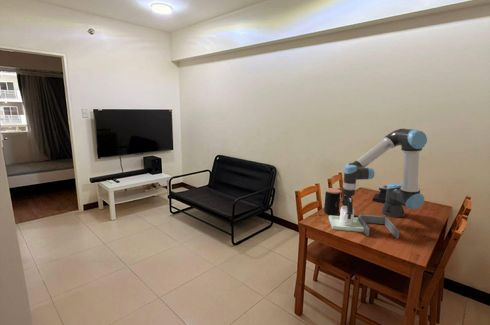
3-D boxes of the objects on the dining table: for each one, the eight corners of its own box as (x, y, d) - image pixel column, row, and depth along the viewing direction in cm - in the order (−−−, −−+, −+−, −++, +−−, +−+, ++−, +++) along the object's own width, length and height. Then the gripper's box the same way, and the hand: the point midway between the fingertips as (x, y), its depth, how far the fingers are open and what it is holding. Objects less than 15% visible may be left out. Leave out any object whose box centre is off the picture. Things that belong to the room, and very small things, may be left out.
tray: (356, 220, 184) (357, 217, 183) (363, 232, 167) (364, 228, 167) (328, 218, 187) (328, 215, 186) (332, 229, 170) (332, 225, 170)
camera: (373, 186, 221) (378, 181, 232) (372, 202, 225) (376, 196, 236) (395, 190, 211) (398, 184, 222) (393, 206, 215) (396, 200, 226)
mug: (336, 225, 174) (337, 210, 172) (341, 219, 184) (342, 205, 182) (349, 229, 169) (351, 213, 167) (354, 222, 179) (355, 208, 177)
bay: (385, 223, 181) (386, 216, 180) (398, 238, 159) (399, 231, 158) (357, 221, 183) (358, 214, 182) (366, 236, 162) (367, 228, 161)
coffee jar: (336, 217, 190) (339, 193, 187) (322, 213, 196) (324, 190, 192) (340, 212, 199) (342, 189, 195) (326, 209, 205) (327, 187, 201)
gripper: (339, 183, 184) (336, 211, 189) (347, 194, 160) (344, 226, 165) (350, 183, 183) (347, 212, 188) (360, 195, 159) (356, 227, 164)
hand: (346, 218), depth 176 cm, fingers open, 13 cm apart
